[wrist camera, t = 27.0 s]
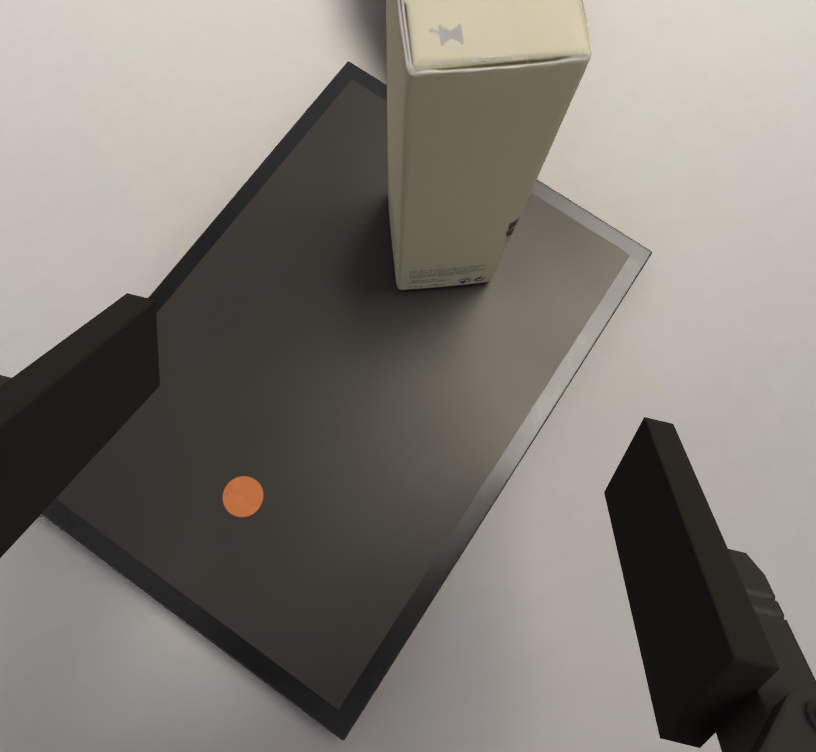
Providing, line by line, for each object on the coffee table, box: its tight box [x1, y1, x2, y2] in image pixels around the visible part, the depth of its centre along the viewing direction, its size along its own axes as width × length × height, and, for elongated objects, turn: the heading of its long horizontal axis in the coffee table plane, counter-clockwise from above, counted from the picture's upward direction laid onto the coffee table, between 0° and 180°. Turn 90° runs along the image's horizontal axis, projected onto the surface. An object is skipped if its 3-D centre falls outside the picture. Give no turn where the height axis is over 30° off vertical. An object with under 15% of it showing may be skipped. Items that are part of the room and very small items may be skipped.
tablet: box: [41, 62, 652, 740], centre depth 25 cm, size 17×24×1 cm
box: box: [386, 0, 592, 290], centre depth 19 cm, size 5×4×13 cm
